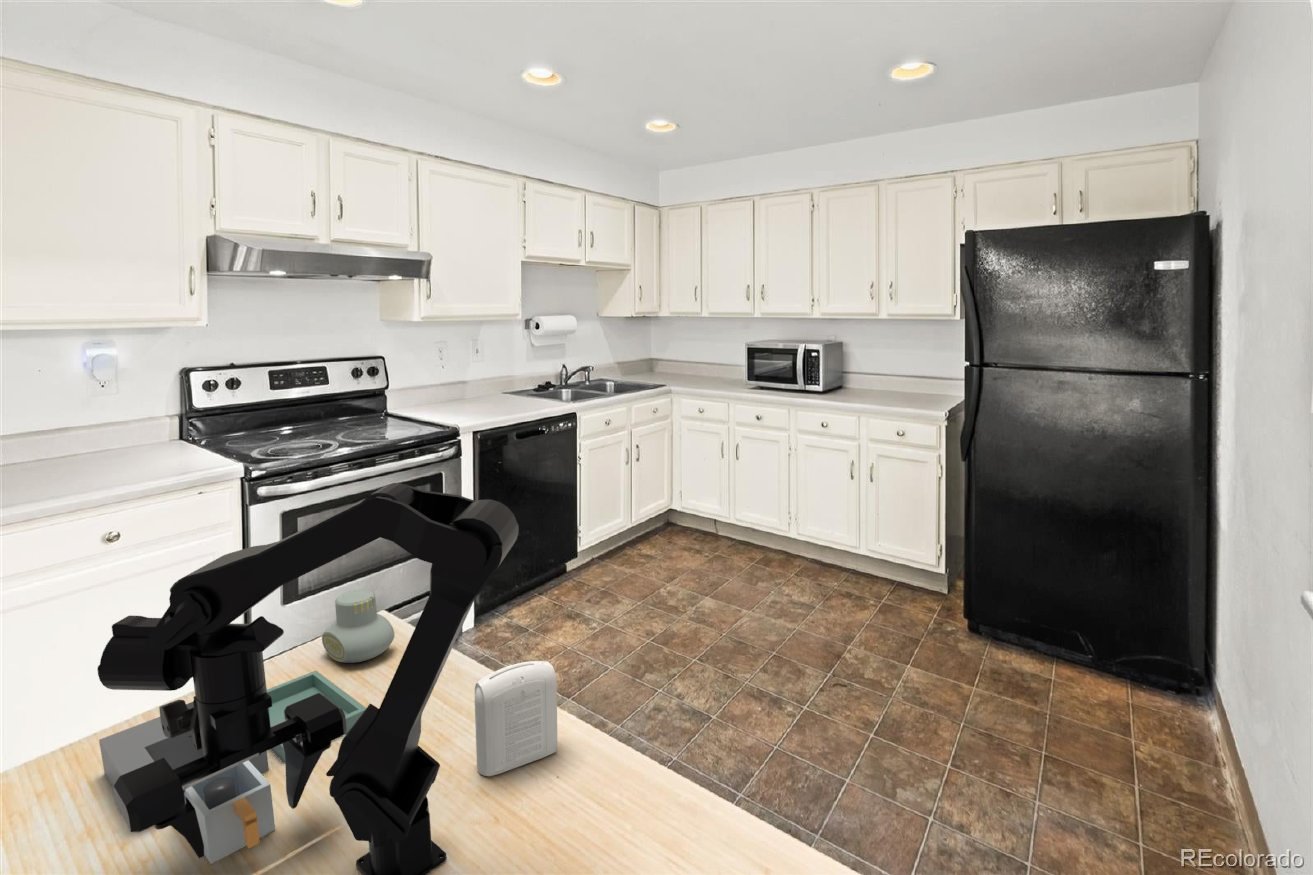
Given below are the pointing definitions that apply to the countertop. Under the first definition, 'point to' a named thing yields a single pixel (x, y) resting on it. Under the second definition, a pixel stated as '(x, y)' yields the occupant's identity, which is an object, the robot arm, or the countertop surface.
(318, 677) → the tray
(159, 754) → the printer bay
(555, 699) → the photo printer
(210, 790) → the dark grey rounded piece
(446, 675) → the countertop surface
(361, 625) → the air freshener
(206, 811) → the toner caddy
